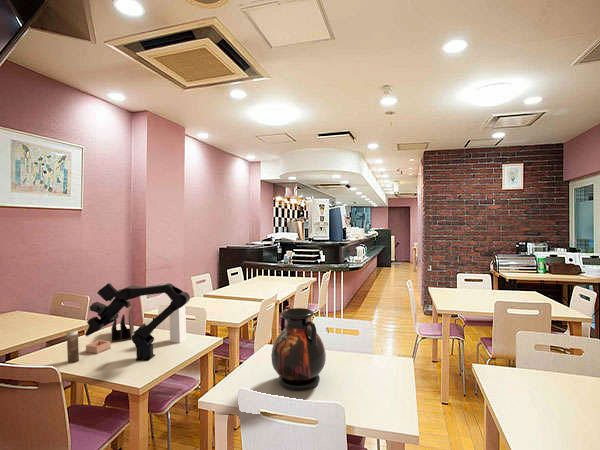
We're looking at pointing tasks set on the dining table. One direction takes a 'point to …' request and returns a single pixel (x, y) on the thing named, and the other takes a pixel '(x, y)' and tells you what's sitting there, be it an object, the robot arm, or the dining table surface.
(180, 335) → the milk
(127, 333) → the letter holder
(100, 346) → the pink open box
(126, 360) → the dining table surface
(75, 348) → the brown tall cylinder
